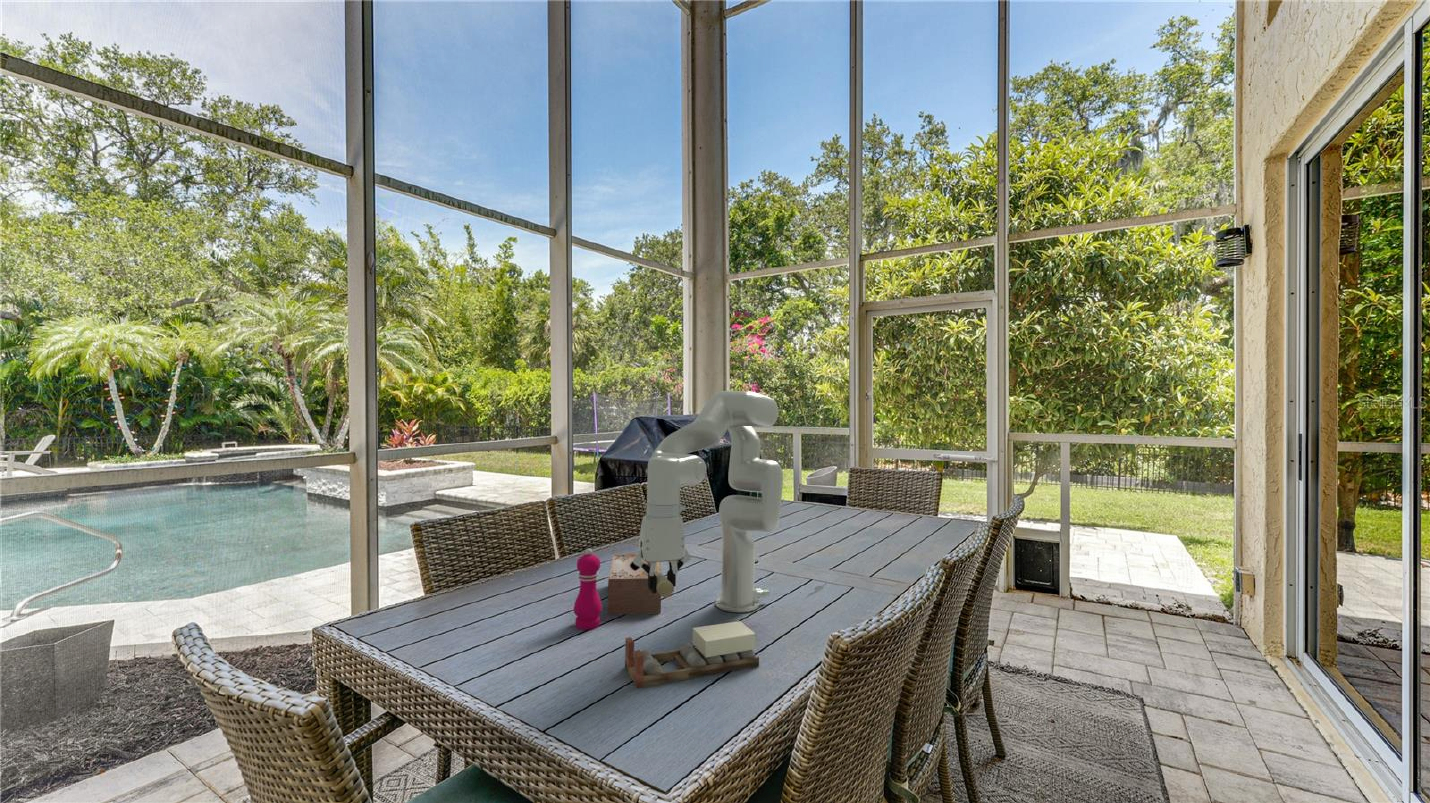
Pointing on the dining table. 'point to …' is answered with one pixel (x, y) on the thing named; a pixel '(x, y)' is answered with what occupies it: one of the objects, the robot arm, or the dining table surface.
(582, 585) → the pepper mill
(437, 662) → the dining table surface
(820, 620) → the dining table surface
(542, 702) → the dining table surface
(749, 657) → the track
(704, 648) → the slab
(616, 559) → the tissue box cover
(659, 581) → the roller
